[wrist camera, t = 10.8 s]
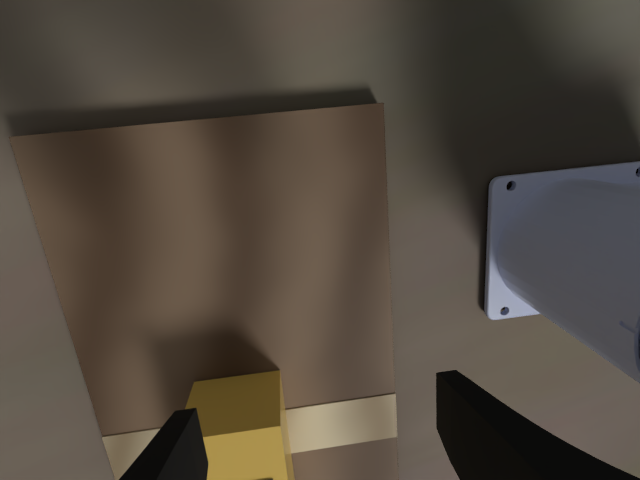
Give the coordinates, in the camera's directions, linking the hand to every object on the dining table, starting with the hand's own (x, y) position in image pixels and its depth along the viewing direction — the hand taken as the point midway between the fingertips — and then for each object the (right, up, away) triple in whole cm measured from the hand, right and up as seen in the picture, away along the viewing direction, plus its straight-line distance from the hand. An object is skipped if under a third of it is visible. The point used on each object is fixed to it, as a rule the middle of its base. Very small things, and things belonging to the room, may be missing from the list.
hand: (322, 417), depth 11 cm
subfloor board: (-4, -1, +10) cm, 10 cm away
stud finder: (-4, -6, +10) cm, 12 cm away
